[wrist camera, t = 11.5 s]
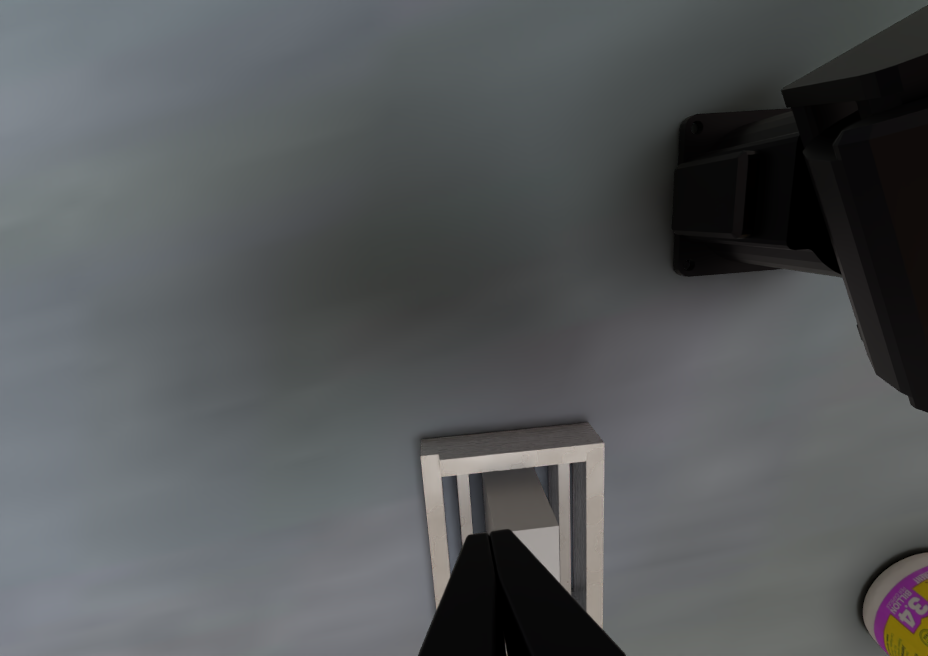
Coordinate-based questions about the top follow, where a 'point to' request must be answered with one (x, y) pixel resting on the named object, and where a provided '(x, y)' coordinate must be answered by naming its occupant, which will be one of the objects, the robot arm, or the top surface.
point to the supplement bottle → (900, 607)
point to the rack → (588, 496)
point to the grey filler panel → (522, 513)
